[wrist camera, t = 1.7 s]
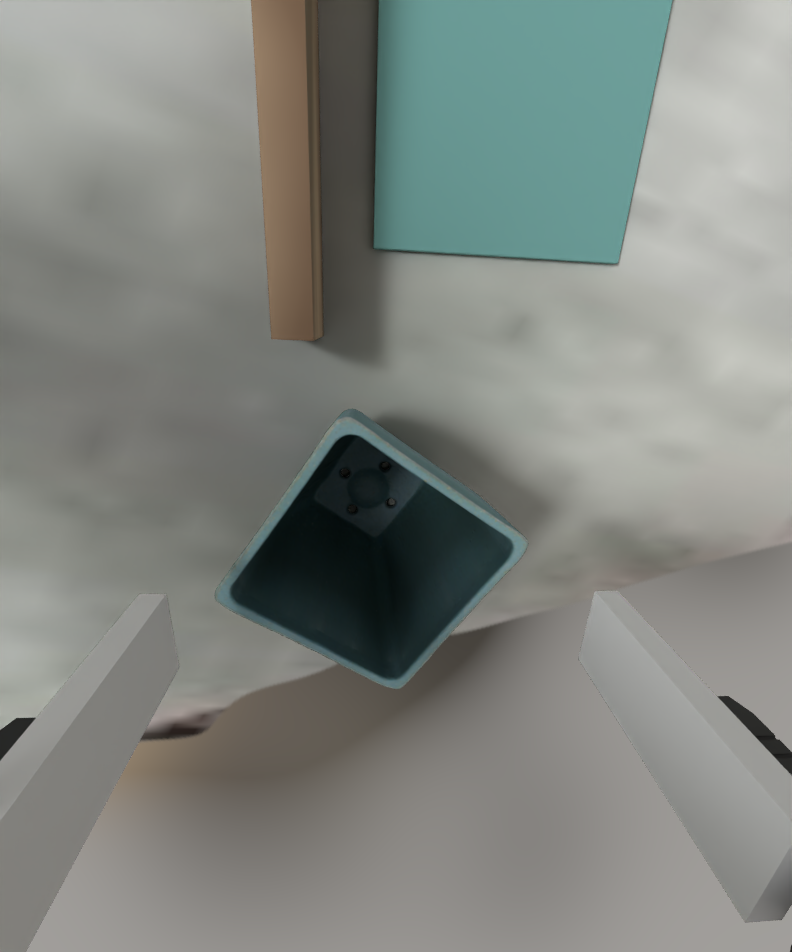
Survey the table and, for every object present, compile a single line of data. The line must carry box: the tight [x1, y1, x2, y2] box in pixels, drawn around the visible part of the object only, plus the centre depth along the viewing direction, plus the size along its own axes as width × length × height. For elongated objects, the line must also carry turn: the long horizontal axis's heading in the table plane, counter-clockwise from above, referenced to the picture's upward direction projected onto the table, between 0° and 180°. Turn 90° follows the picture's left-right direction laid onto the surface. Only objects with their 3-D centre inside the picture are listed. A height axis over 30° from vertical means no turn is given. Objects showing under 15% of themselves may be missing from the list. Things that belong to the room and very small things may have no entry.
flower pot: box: [215, 409, 528, 689], centre depth 20 cm, size 9×9×9 cm
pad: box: [373, 0, 672, 264], centre depth 18 cm, size 12×12×1 cm
